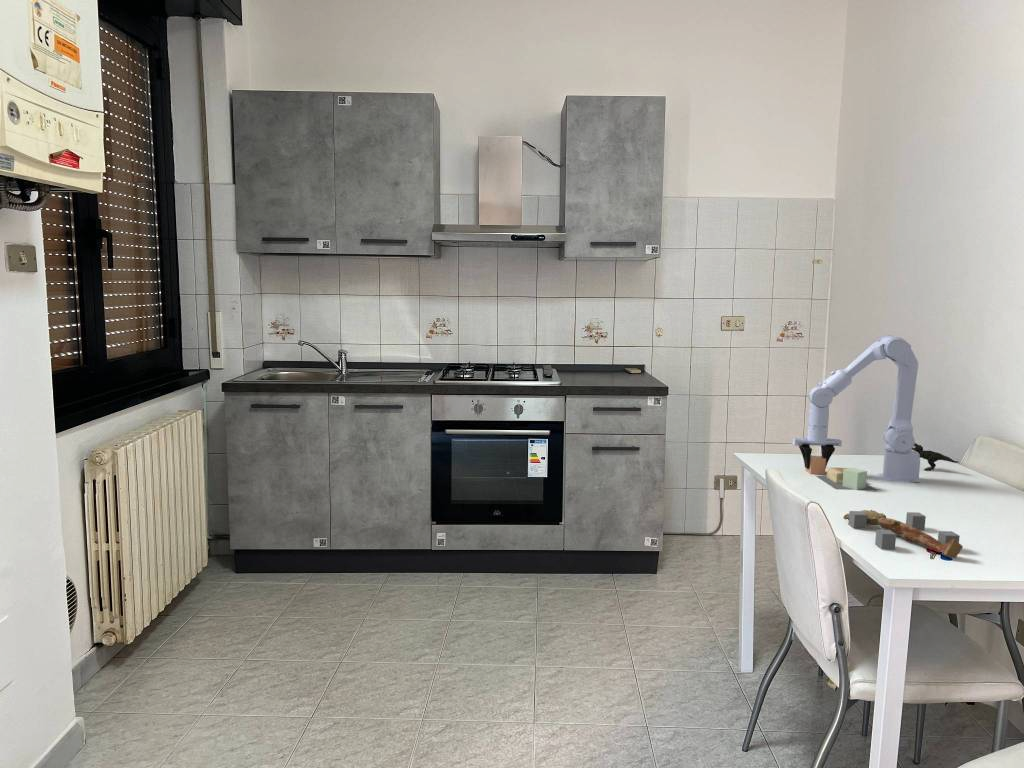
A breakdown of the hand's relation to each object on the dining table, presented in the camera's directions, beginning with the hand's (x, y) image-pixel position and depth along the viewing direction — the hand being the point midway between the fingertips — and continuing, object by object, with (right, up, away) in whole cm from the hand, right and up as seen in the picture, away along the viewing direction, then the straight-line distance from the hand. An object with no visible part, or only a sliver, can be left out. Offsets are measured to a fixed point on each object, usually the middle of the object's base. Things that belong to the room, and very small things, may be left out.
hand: (815, 468), depth 232 cm
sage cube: (+5, -4, -16) cm, 17 cm away
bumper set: (-4, -10, -59) cm, 60 cm away
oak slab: (+5, -3, -9) cm, 10 cm away
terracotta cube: (0, -1, 0) cm, 1 cm away
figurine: (-4, -10, -58) cm, 59 cm away
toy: (+41, -2, +7) cm, 42 cm away
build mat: (+4, -3, -12) cm, 13 cm away
